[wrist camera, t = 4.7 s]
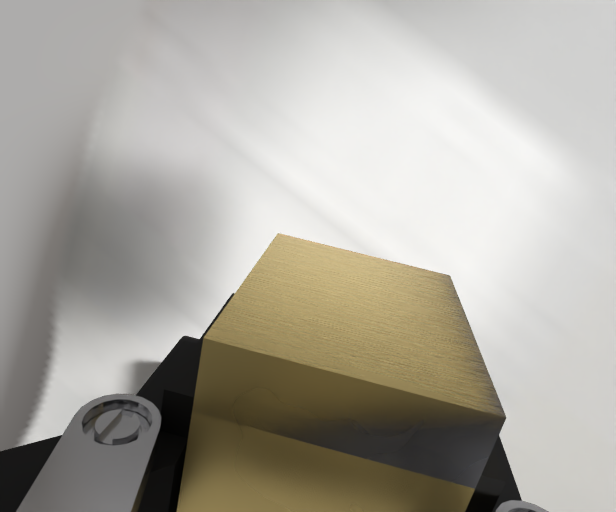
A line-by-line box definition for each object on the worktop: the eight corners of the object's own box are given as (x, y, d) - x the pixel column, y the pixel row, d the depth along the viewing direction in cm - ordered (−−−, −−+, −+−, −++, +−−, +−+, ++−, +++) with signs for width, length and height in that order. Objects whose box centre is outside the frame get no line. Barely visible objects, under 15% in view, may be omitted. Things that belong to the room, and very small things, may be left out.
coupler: (277, 233, 11) (203, 337, 6) (449, 275, 11) (506, 417, 6) (237, 438, 13) (157, 632, 8) (380, 477, 13) (382, 701, 8)
